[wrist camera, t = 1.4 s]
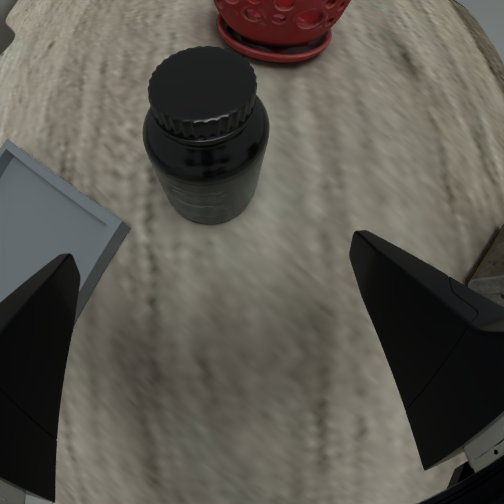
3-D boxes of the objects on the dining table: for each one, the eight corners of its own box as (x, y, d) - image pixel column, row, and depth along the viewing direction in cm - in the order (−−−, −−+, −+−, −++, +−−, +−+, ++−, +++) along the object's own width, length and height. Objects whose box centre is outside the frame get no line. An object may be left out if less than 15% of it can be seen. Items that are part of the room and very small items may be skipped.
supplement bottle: (273, 178, 24) (313, 80, 12) (215, 244, 23) (207, 183, 11) (207, 128, 24) (201, 16, 13) (148, 188, 23) (94, 96, 11)
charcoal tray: (43, 389, 20) (29, 395, 17) (-52, 283, 20) (-65, 281, 18) (130, 228, 22) (122, 220, 20) (18, 148, 23) (7, 138, 20)
